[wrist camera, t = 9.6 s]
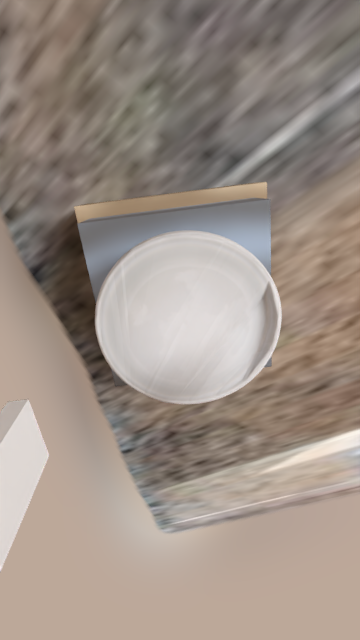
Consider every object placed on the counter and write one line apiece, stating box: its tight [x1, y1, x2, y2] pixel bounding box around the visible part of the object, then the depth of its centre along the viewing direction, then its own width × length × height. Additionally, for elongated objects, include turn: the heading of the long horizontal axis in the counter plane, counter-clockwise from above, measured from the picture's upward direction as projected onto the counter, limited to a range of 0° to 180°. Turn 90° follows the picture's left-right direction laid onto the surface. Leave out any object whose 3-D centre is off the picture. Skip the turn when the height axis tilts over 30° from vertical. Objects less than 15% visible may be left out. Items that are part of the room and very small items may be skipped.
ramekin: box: [95, 230, 282, 404], centre depth 21 cm, size 11×11×5 cm
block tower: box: [74, 182, 271, 386], centre depth 27 cm, size 15×15×8 cm
